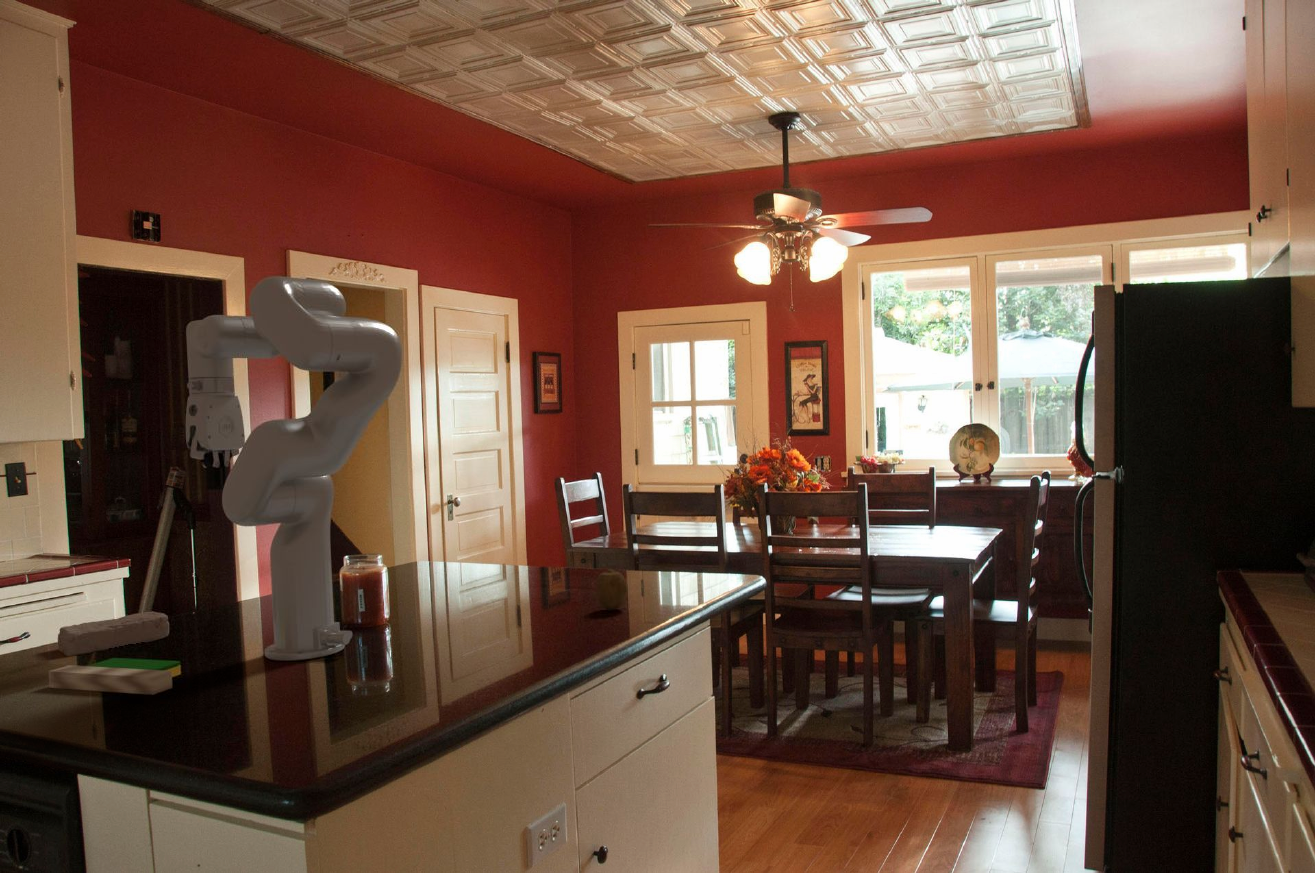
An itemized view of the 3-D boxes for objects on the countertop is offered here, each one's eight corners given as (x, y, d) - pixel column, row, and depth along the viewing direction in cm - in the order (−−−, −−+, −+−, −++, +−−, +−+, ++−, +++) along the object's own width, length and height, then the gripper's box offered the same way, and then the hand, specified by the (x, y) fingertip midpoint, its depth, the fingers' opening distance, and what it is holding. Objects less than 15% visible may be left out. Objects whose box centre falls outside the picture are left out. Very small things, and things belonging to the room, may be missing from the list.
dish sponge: (114, 672, 156) (113, 657, 156) (182, 675, 152) (181, 660, 152) (75, 684, 150) (74, 668, 150) (145, 688, 145) (144, 672, 145)
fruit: (628, 606, 190) (626, 565, 190) (628, 612, 184) (626, 570, 184) (596, 607, 190) (594, 567, 190) (595, 614, 184) (593, 572, 184)
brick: (69, 658, 167) (68, 630, 167) (56, 651, 173) (55, 624, 173) (171, 640, 179) (170, 614, 179) (156, 634, 185) (154, 609, 185)
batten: (172, 687, 143) (171, 670, 143) (153, 694, 140) (152, 677, 140) (70, 681, 150) (69, 665, 150) (49, 687, 146) (48, 671, 146)
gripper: (197, 387, 168) (202, 492, 169) (257, 388, 183) (262, 485, 183) (163, 389, 171) (168, 493, 171) (225, 390, 185) (230, 486, 185)
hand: (217, 488), depth 177 cm, fingers closed
